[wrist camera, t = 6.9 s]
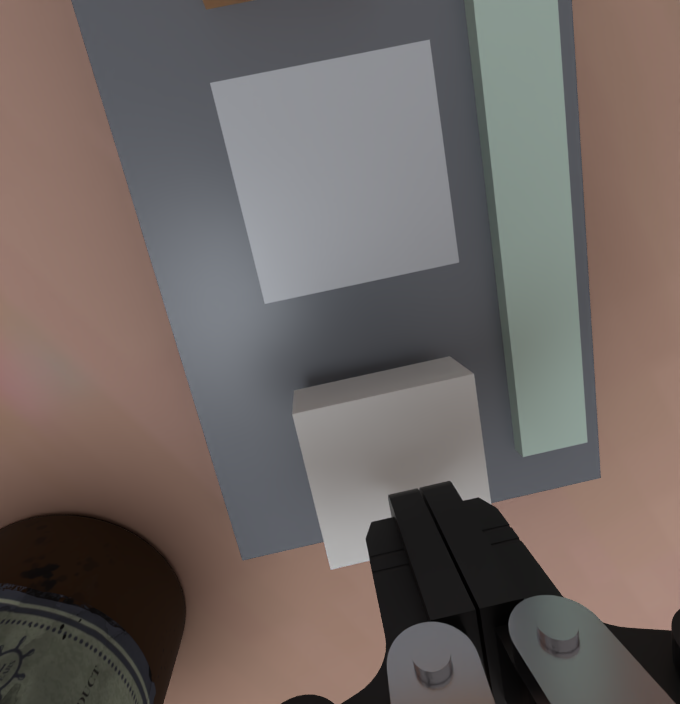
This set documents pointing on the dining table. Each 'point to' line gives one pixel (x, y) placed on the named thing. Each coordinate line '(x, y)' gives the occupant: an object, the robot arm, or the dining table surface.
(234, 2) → the key orange
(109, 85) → the keypad board
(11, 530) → the dark brown glass bottle
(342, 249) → the key grey
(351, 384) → the key white
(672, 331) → the dining table surface
